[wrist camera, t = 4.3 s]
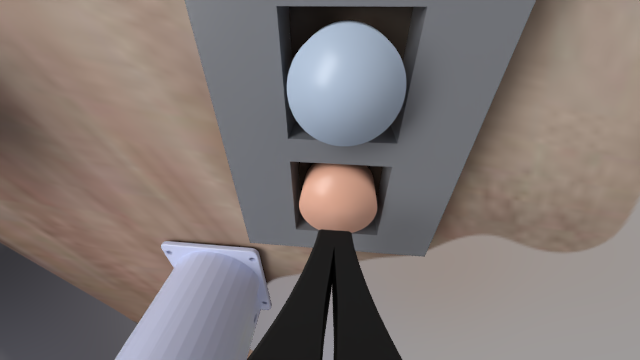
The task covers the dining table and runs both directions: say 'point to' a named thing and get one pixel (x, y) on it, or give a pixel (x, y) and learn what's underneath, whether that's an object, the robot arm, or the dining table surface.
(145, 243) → the dining table surface
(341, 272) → the robot arm
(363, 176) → the terracotta button
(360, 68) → the blue button
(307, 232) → the button panel
